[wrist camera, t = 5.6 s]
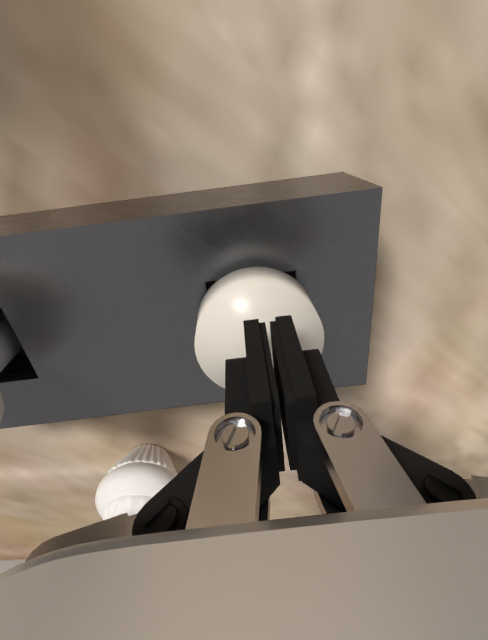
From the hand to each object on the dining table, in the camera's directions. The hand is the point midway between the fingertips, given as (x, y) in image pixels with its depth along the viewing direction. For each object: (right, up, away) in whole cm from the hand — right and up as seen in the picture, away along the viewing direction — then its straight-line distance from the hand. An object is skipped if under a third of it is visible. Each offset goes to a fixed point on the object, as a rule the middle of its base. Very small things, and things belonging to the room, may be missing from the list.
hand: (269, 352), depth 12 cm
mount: (-7, +3, +8) cm, 11 cm away
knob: (-1, +3, +7) cm, 8 cm away
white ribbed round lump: (-9, -10, +16) cm, 20 cm away
